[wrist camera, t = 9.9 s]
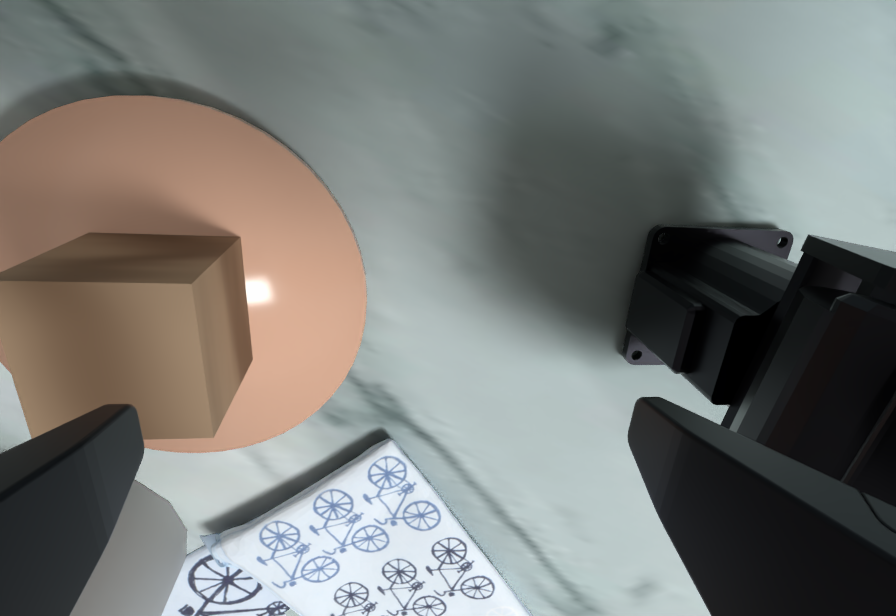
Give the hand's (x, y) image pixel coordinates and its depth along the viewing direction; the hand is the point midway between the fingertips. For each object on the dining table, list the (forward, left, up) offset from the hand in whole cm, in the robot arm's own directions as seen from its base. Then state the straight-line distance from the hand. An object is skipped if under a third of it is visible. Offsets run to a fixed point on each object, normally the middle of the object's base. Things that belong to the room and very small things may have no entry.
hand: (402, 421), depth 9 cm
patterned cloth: (+3, +22, -13) cm, 26 cm away
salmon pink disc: (+8, +2, -12) cm, 15 cm away
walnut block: (+8, +2, -11) cm, 13 cm away
